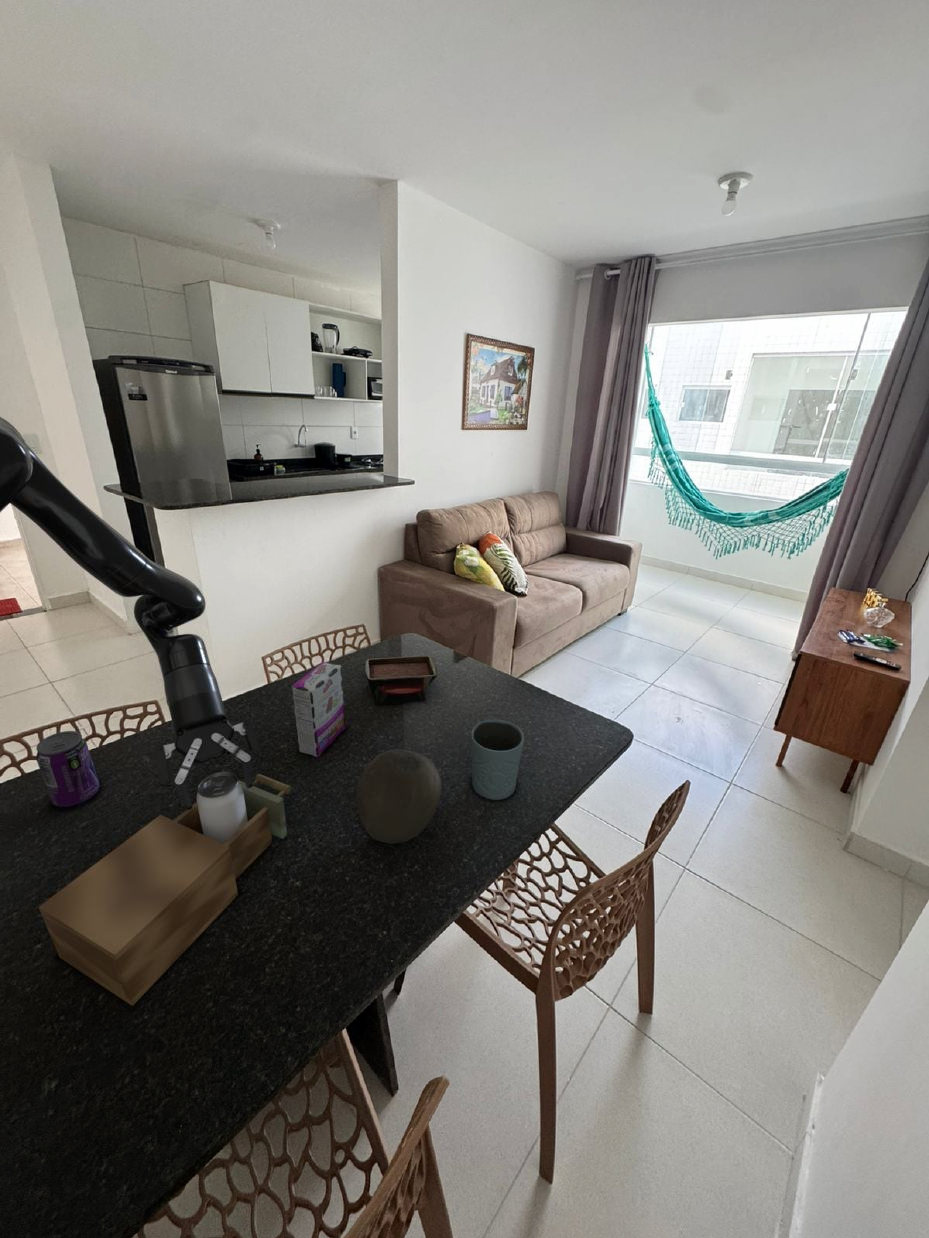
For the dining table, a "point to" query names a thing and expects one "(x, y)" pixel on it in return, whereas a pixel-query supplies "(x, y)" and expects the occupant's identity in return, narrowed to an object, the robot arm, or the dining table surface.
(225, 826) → the can
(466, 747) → the dining table surface
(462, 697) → the dining table surface
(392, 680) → the baking dish
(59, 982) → the dining table surface
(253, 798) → the drawer
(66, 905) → the cabinet
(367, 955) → the dining table surface
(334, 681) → the candy bar box
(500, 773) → the teal cup
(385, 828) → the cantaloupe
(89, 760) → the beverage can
